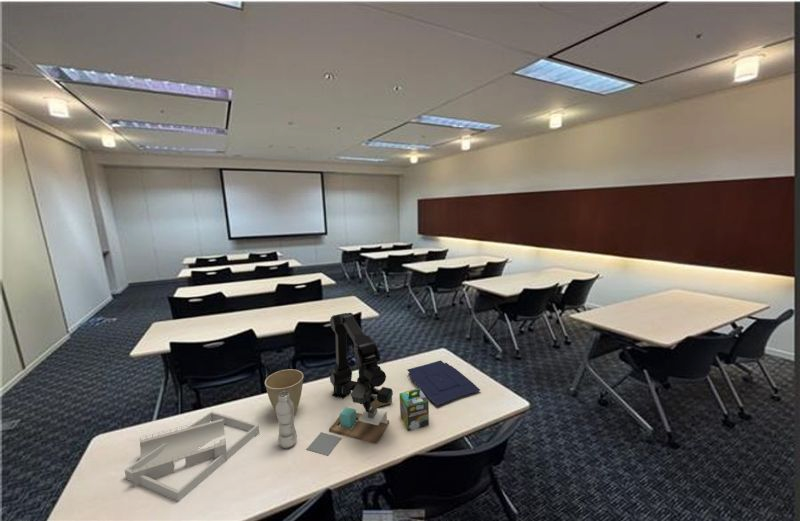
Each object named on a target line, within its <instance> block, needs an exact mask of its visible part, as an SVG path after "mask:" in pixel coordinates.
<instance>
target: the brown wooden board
mask: <svg viewBox="0 0 800 521" xmlns="http://www.w3.org/2000/svg"><path fill="white" fill-rule="evenodd" d="M362 414H363V413H360V412H356V423H355V425H354V426H353V427H352V428H351V429H349V428H345V427H342V426H340V415H339V416H338V417H337V418H336V420H334V422H333V424H331V425H330V426H329V428H328V432H329V433H332V434H336V435H340V436H345V437H348V438H352V439H356V440H360V441H364V442H368V443H372V444H375V445H377V444H378V443H379V441H380V439H381V437H382V436H383V434H384V433H385V431H386V429H387V428H388V427H389V424H390V420H388V419H387V423H382V422H380V423H379V425H374V424H370V423H366V422H362V421H358V419H359V418H360V416H361V415H362Z"/></svg>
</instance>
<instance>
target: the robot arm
mask: <svg viewBox="0 0 800 521" xmlns="http://www.w3.org/2000/svg"><path fill="white" fill-rule="evenodd" d="M329 324H330V327H331V329H332V331H333V332H334V334H335V358H336V359H335V364H334V365H333V367H332V373H331V375H330V377H329V380H330V383H331V385H332V386H333V393H332V394H331V396H332V397H333V398H340V399H345V398H346V397H347V396H350V397H351V401H352V403H357V404H360V405H362V406H363V408H364V411H365V410H366V412H369V410H370V408H371V406H372V403H373V401H374V400H375V399H376V397H377V400H378V401H379V402H381V403H388V401H389V400H390V398H391V397H392V398H393V394H394V392H393V389H392V388H390V387H385V386H382V385H383V384H384V383H385V382H386V379H387V375H386V372H385V371H384V370H382V368H381V366H379V365H378V362H381V361H382V360H381V353H380V351H379V348H378V345H377V344H376V342H374V340H373V339H372V338H371V337H370V336H368V335H366V334H364V331H363V330H362V329H361V327H360V326H359V324H358V322H357V320H356V319H355V316H354V313H353V312H344V313H339V314H333V315H332V316H331V317H330V319H329ZM347 334H348V336H349V337H350V339H351V340H352V342H353V352H354V353H353V354H354V356H355V357H356V360H357V363H358V369H357V370H358V377H357V380H356V381H355V380H352V378H353V371H352V368H351V366H350V365H348V352H347V351H348V348H347V347H348V346H347V344H348V343H347V342H348V341H347ZM381 386H382V387H381ZM377 387H381V388H380V389H381V390H380V389H379V388H377Z"/></svg>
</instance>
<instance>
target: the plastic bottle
mask: <svg viewBox="0 0 800 521" xmlns="http://www.w3.org/2000/svg"><path fill="white" fill-rule="evenodd" d="M278 397H279V398H278V400H279V402H278V403H277V405H276V409H275V410H276V412H275V414H276V417H277V418H276V419H277V422H278V436H277V437H278V438H277V439H278V440H277V442H278V444H279V446H280V447H281V448H283V449H290V448H292V447H293V446H294V445H295V444H296V442H297V440H298V439H297V438H298V435H297V430H296V426H295V425H296V424H295V417H294V416H295V415H294V403H293V402H292V401H291V400H290V399H289V398H290V396H289V392H288V391H283V392H281V393H279V395H278ZM275 410H274V411H275Z"/></svg>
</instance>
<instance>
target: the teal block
mask: <svg viewBox="0 0 800 521" xmlns="http://www.w3.org/2000/svg"><path fill="white" fill-rule="evenodd" d="M356 410H357V409H355V408H351V407H348V406H345V407H344V408H343V409H342V410H341V412H340V413H339V416H340V425H339V426H342V427H345V428H349V429H352V428H353V426H354V425H355V424H356V422H357V420H356V413H357V412H356Z"/></svg>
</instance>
